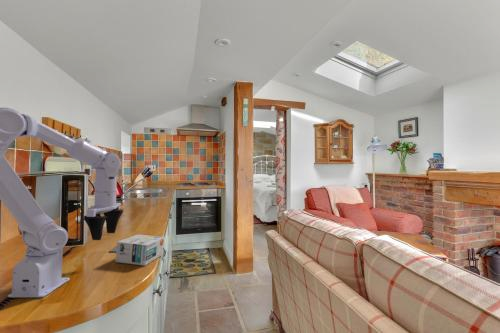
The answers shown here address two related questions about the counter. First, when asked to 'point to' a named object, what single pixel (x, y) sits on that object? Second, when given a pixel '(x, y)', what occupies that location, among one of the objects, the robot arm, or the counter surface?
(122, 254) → the light bulb box
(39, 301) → the counter surface
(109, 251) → the mat
